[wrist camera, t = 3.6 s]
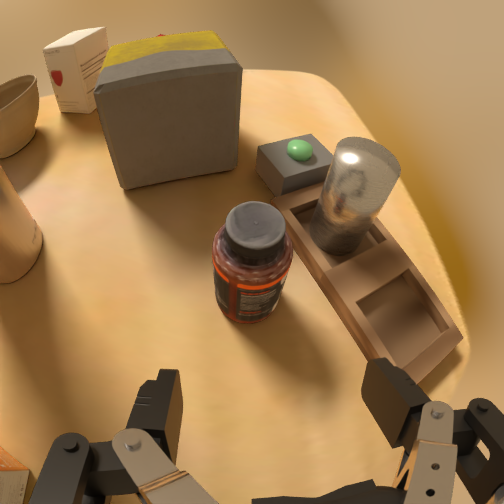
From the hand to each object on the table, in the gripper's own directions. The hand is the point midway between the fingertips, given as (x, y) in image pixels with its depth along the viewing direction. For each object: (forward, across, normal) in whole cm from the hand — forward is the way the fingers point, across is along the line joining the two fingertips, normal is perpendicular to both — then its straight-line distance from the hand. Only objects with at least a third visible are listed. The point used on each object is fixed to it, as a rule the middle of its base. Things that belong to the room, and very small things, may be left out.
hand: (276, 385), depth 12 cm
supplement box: (+46, +30, -26) cm, 60 cm away
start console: (+29, -7, -9) cm, 31 cm away
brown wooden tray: (+18, -13, +2) cm, 22 cm away
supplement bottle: (+18, 0, +3) cm, 18 cm away
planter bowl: (+39, +43, -18) cm, 60 cm away
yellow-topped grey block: (+37, +10, -16) cm, 42 cm away
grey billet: (+22, -10, -3) cm, 24 cm away
